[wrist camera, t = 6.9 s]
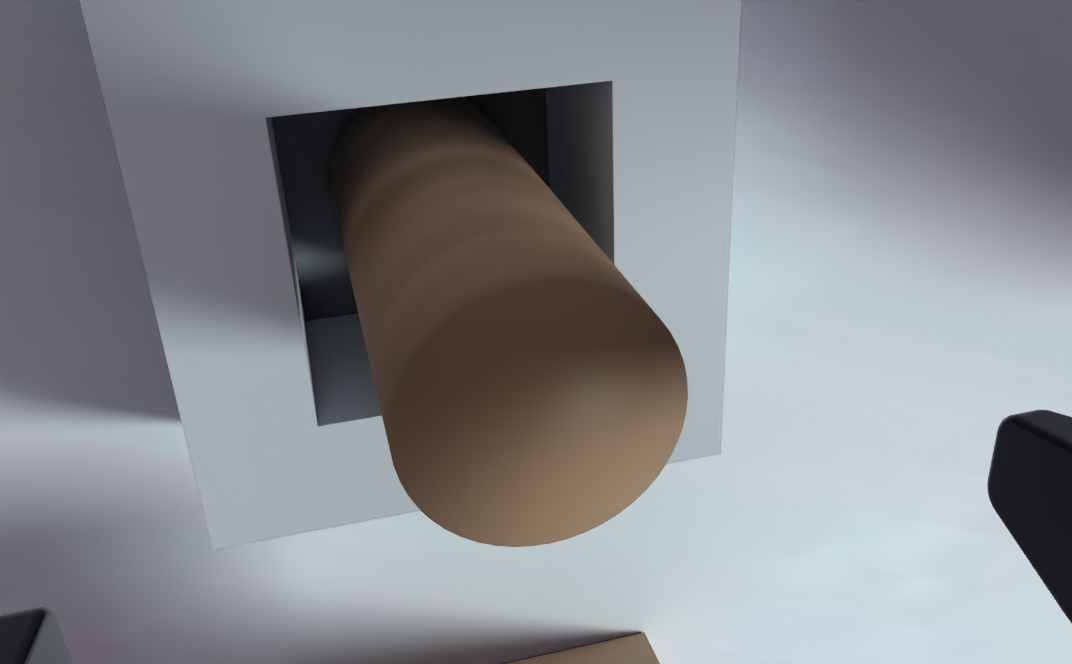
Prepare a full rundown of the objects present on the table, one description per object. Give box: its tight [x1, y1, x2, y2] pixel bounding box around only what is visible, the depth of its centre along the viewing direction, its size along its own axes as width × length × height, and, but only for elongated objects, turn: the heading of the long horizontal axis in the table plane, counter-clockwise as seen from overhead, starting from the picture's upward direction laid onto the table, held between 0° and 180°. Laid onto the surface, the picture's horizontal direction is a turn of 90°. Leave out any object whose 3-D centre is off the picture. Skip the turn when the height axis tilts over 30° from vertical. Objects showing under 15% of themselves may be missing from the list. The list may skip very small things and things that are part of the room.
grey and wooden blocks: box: [79, 0, 741, 664], centre depth 17 cm, size 9×18×10 cm, turn 2°
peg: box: [329, 97, 688, 547], centre depth 15 cm, size 3×3×9 cm
